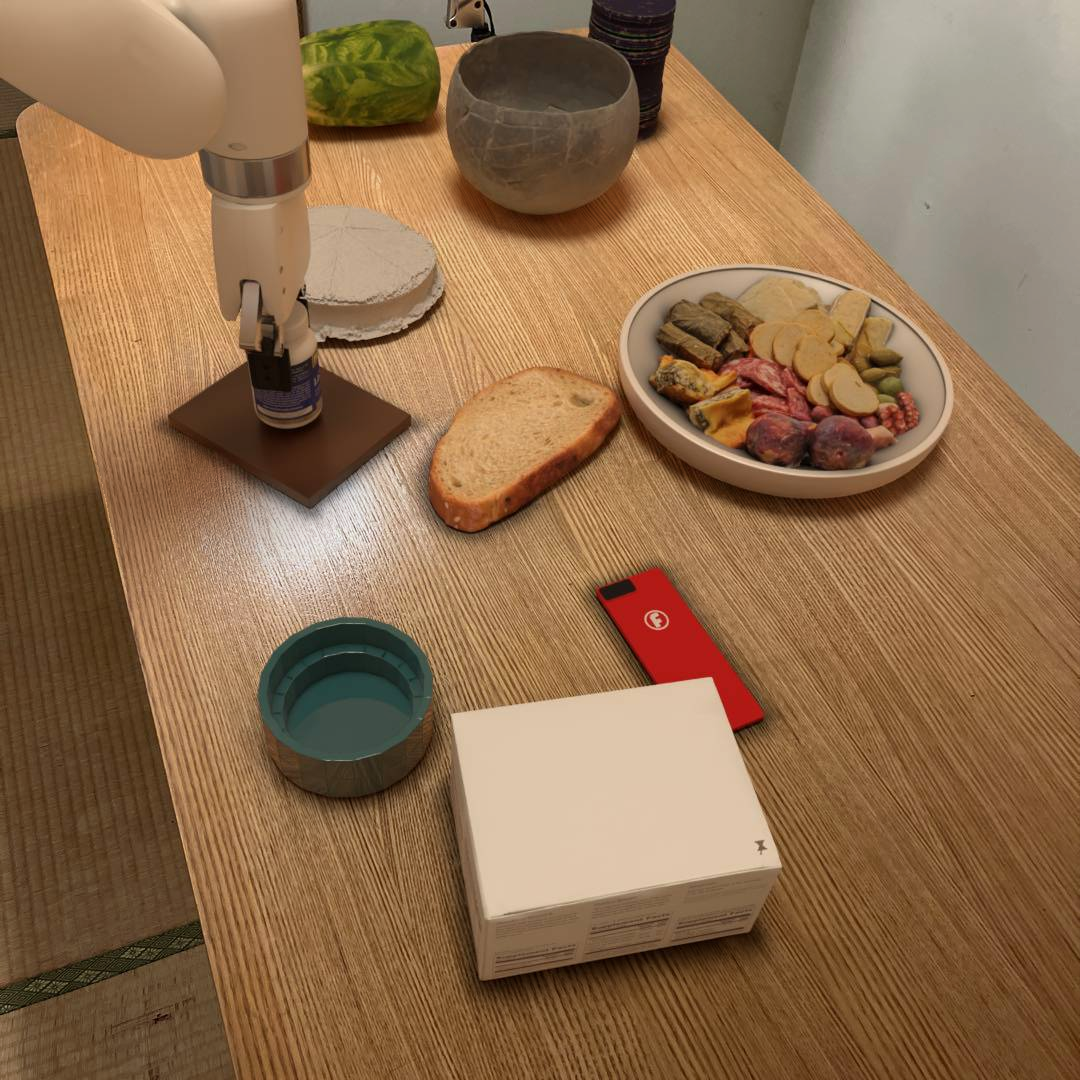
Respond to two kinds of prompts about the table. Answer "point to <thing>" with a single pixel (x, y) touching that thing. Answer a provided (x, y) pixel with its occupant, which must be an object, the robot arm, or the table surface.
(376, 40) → the lettuce
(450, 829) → the table surface
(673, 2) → the dark purple ridged cylinder
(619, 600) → the electronic device
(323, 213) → the grey pie
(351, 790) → the teal bowl
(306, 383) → the pill bottle
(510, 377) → the bread slice
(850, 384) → the bowl
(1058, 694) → the table surface
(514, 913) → the supplement box
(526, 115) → the bowl
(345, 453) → the walnut board
